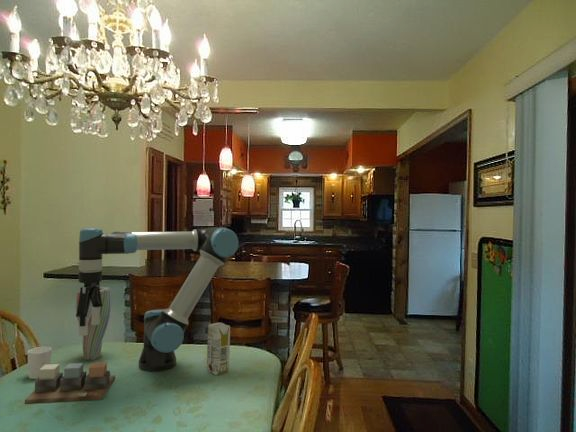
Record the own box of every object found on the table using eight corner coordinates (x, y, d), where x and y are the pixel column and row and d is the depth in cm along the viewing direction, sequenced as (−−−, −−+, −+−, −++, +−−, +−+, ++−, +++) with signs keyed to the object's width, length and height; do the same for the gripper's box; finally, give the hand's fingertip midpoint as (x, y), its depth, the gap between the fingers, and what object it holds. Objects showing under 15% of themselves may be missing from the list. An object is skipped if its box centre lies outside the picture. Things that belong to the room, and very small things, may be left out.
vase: (100, 363, 170) (102, 292, 170) (68, 362, 170) (70, 291, 170) (114, 352, 183) (116, 286, 183) (84, 351, 183) (86, 286, 184)
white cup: (39, 380, 151) (40, 354, 151) (21, 378, 152) (22, 352, 152) (55, 373, 158) (56, 347, 158) (38, 371, 160) (39, 345, 160)
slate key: (83, 376, 146) (83, 363, 146) (78, 382, 142) (79, 368, 142) (68, 377, 146) (69, 363, 146) (63, 382, 141) (64, 368, 141)
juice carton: (215, 376, 159) (216, 328, 159) (204, 370, 166) (205, 323, 166) (231, 372, 164) (232, 325, 164) (220, 366, 171) (221, 321, 171)
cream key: (59, 377, 145) (59, 364, 145) (54, 383, 140) (54, 369, 140) (44, 378, 144) (45, 364, 144) (38, 384, 139) (39, 369, 139)
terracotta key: (106, 375, 148) (106, 362, 148) (103, 381, 143) (103, 367, 143) (92, 376, 147) (92, 362, 147) (88, 381, 142) (88, 367, 142)
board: (115, 378, 155) (115, 364, 155) (102, 399, 137) (103, 384, 137) (46, 381, 150) (47, 367, 150) (24, 403, 133) (25, 387, 133)
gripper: (90, 266, 157) (89, 320, 157) (66, 276, 133) (65, 340, 133) (110, 266, 159) (110, 320, 159) (90, 276, 134) (89, 339, 134)
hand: (89, 329), depth 146 cm, fingers open, 13 cm apart
